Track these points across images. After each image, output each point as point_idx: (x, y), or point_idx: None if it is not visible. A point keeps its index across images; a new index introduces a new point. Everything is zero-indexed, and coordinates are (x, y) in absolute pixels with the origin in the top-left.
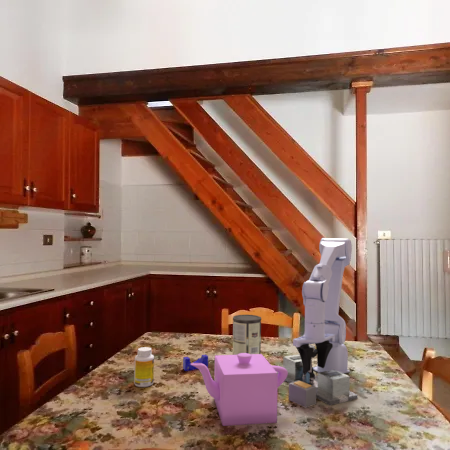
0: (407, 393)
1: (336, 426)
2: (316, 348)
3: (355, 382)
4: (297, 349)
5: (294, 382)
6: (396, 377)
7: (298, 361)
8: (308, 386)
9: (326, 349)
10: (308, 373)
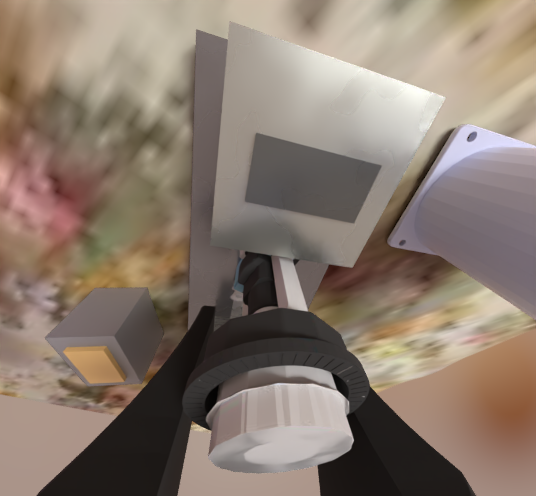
0: (383, 378)
1: (133, 390)
2: (357, 420)
3: (387, 309)
4: (84, 452)
5: (77, 341)
6: (486, 337)
7: (244, 249)
8: (108, 381)
9: (321, 489)
10: (240, 289)
